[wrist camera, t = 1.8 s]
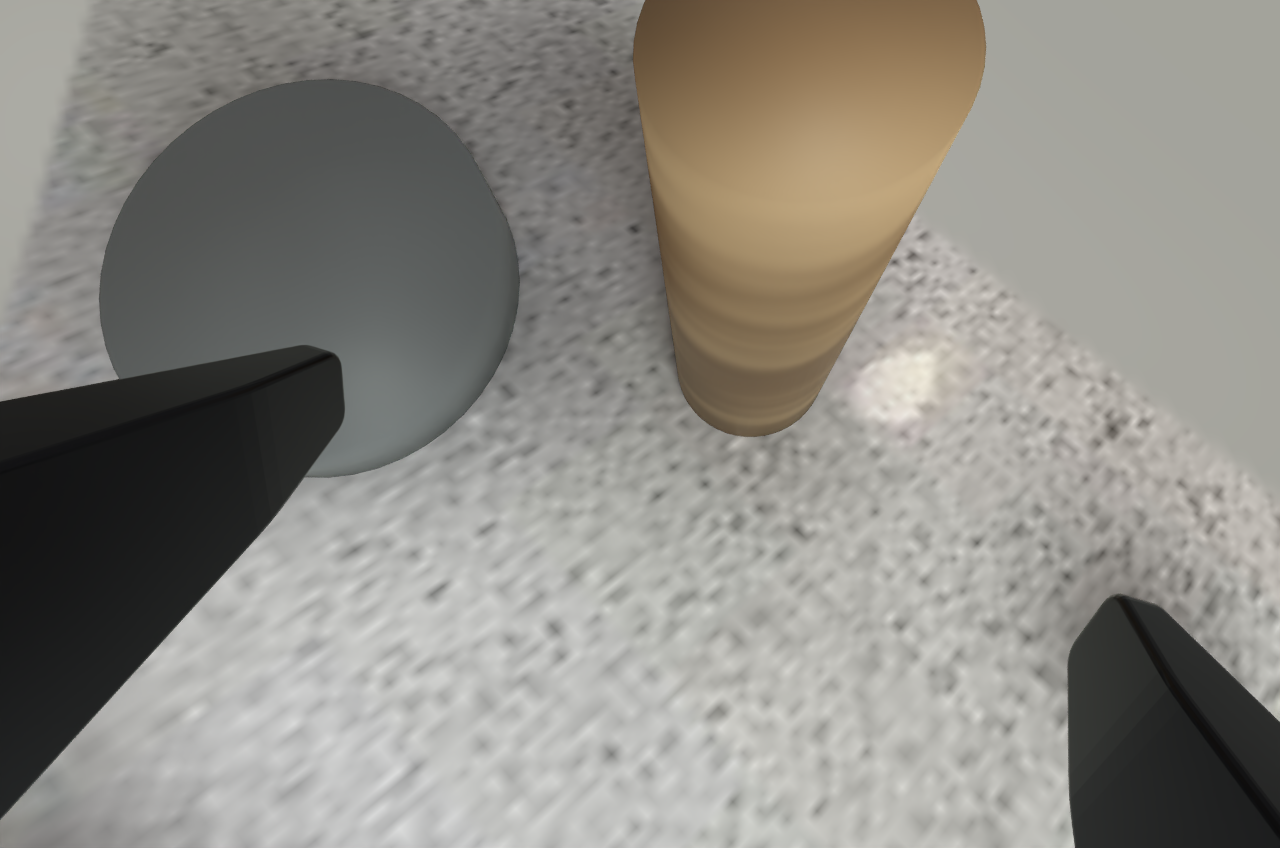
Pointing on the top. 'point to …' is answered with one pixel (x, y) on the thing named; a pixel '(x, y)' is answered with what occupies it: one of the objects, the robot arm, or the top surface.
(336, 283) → the grey plinth
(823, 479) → the top surface
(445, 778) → the top surface
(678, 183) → the teak pillar
